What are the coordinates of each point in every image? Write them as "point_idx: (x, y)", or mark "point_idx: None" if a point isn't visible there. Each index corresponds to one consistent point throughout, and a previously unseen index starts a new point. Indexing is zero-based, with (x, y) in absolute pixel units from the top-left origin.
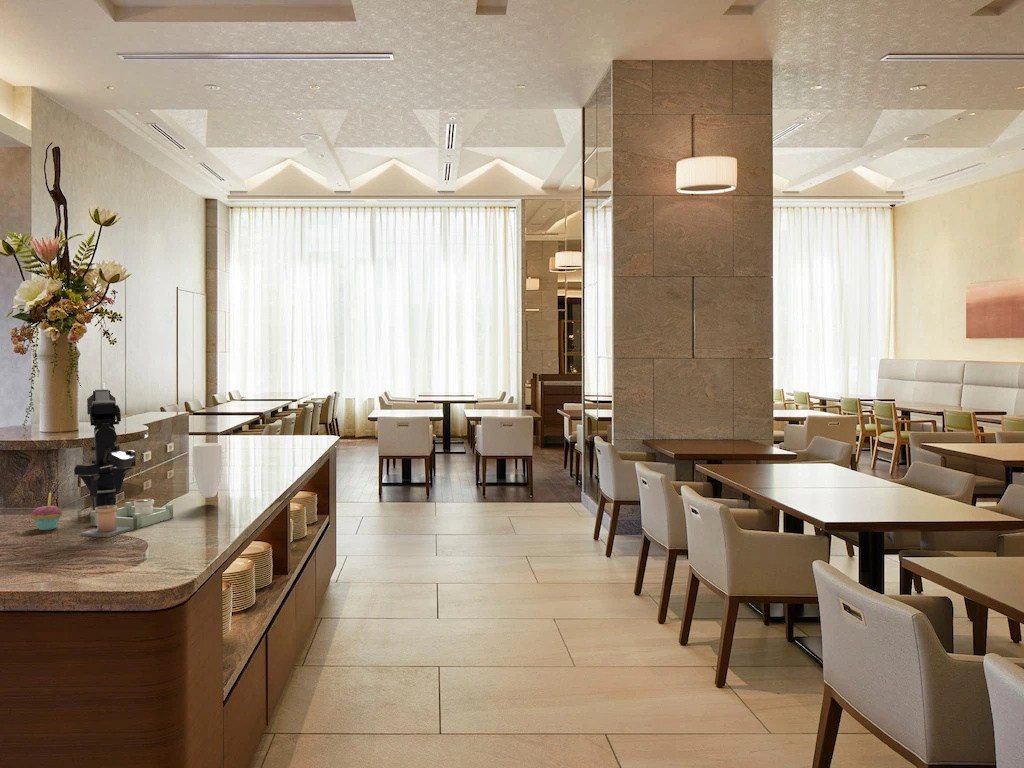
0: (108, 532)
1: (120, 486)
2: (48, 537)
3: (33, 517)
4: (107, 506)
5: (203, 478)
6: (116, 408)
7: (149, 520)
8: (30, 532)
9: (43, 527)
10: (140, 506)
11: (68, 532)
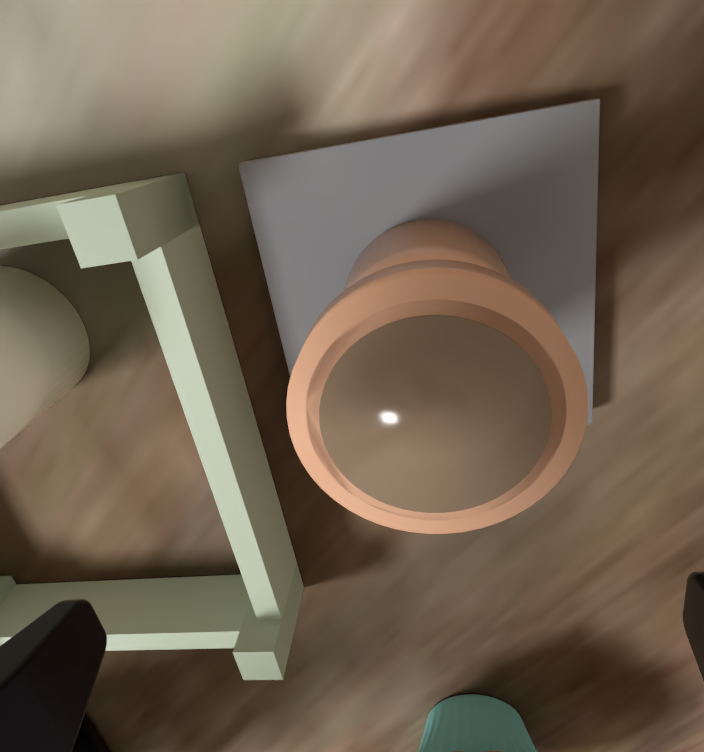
0: (506, 194)
1: (2, 663)
2: (696, 562)
3: None
4: (409, 424)
5: None
6: None
7: (9, 206)
8: (592, 728)
9: (524, 728)
10: None
11: (522, 559)
